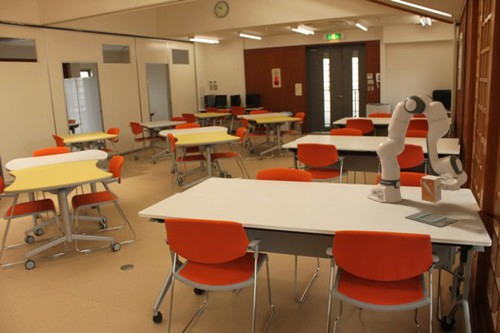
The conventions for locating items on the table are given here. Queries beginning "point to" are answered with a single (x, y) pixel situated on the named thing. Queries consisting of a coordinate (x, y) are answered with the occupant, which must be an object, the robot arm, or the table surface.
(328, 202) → the table surface
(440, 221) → the plate
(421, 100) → the robot arm
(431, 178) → the small box
